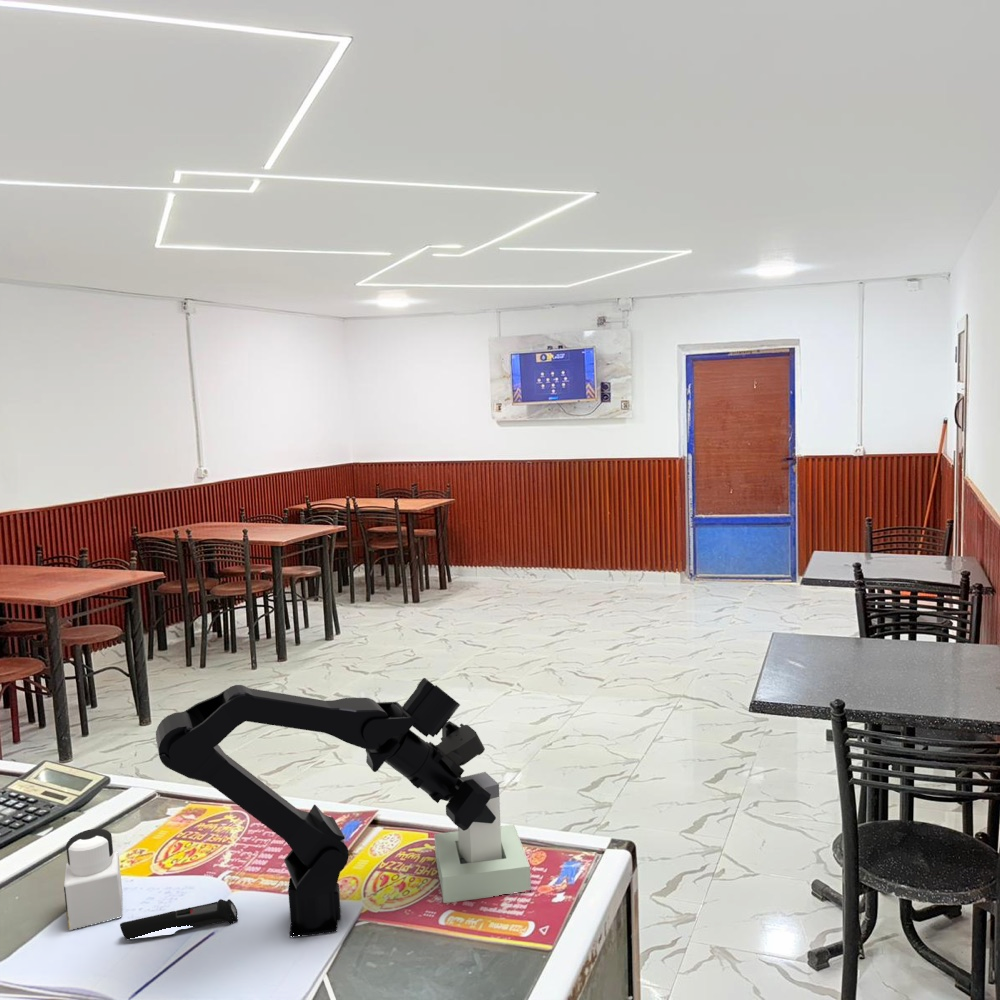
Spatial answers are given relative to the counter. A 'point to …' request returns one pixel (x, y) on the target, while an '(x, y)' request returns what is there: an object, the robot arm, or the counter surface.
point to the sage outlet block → (481, 869)
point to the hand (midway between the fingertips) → (486, 813)
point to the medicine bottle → (92, 879)
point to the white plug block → (482, 827)
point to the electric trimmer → (182, 918)
